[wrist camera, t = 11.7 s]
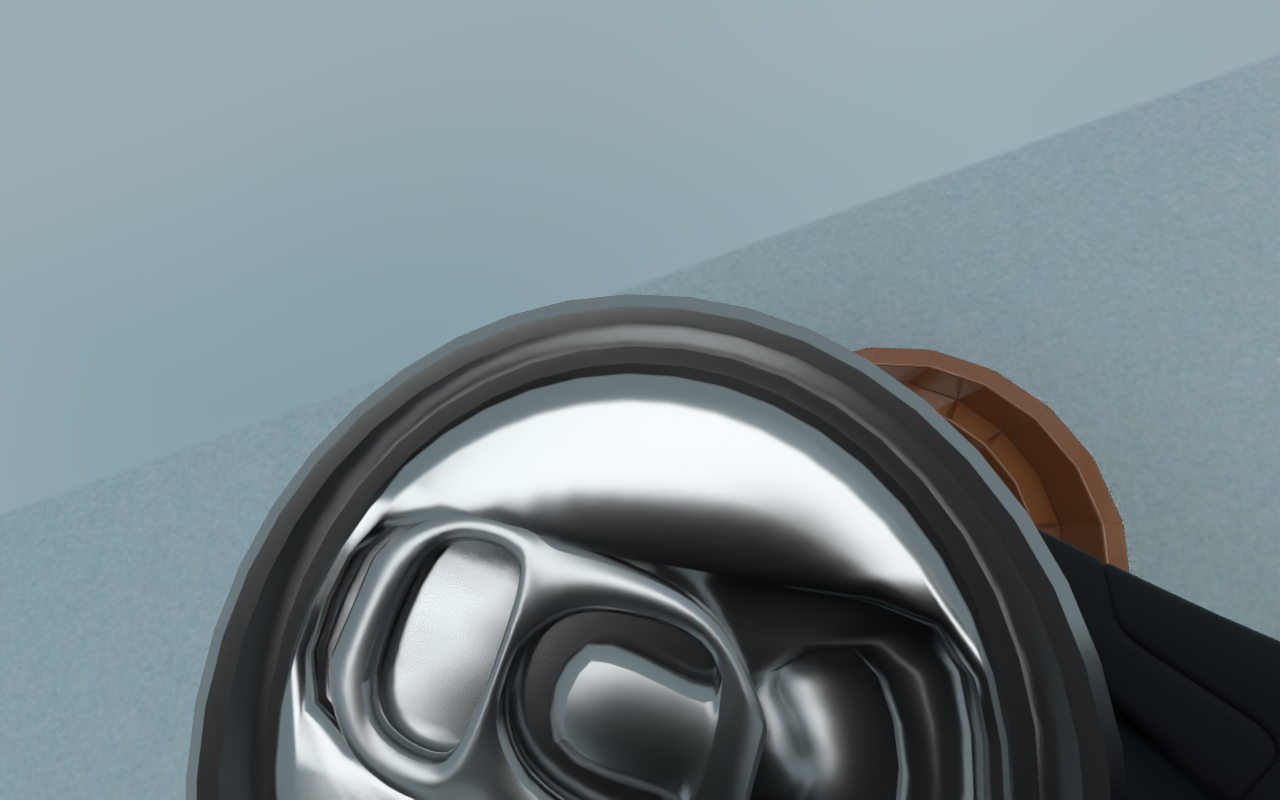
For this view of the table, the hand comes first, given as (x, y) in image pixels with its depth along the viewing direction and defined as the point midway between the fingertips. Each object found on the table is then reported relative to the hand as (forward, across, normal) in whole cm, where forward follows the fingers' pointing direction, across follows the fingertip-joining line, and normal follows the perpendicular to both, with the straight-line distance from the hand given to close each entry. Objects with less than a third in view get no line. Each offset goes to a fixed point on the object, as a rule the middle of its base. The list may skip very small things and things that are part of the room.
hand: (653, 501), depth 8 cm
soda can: (+4, 0, +6) cm, 7 cm away
